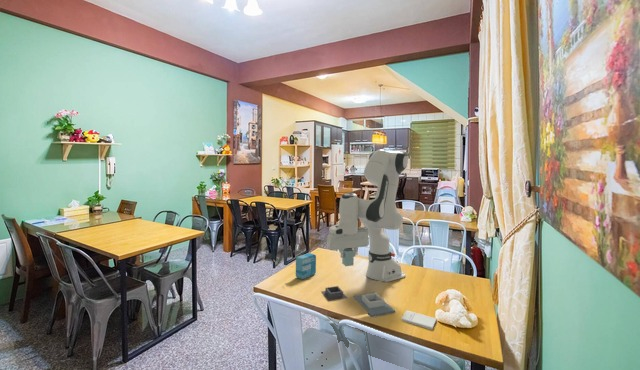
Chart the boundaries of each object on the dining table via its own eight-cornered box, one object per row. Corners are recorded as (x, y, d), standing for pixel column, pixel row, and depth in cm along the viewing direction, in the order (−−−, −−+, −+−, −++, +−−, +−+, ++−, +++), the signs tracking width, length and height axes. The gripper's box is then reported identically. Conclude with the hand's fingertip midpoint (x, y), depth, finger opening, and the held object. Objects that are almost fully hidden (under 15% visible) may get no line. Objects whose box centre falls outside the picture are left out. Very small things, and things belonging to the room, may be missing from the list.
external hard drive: (432, 331, 115) (401, 321, 122) (436, 321, 122) (406, 313, 128) (432, 327, 115) (401, 318, 121) (436, 318, 122) (406, 309, 128)
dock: (374, 294, 144) (374, 287, 144) (395, 312, 127) (395, 305, 127) (352, 297, 140) (352, 291, 140) (370, 317, 124) (371, 309, 123)
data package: (301, 280, 160) (301, 259, 159) (295, 278, 163) (295, 257, 162) (315, 274, 169) (316, 253, 168) (310, 272, 172) (310, 252, 171)
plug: (349, 262, 140) (350, 246, 139) (353, 265, 136) (353, 248, 136) (342, 263, 139) (342, 246, 138) (345, 266, 135) (345, 249, 134)
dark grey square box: (339, 290, 148) (339, 284, 148) (347, 299, 139) (347, 292, 138) (320, 293, 145) (321, 286, 144) (328, 303, 135) (328, 295, 135)
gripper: (365, 225, 142) (364, 252, 143) (325, 228, 136) (325, 256, 137) (371, 228, 136) (370, 256, 137) (330, 231, 130) (330, 261, 131)
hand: (347, 256), depth 137 cm, fingers closed on plug, 4 cm apart
